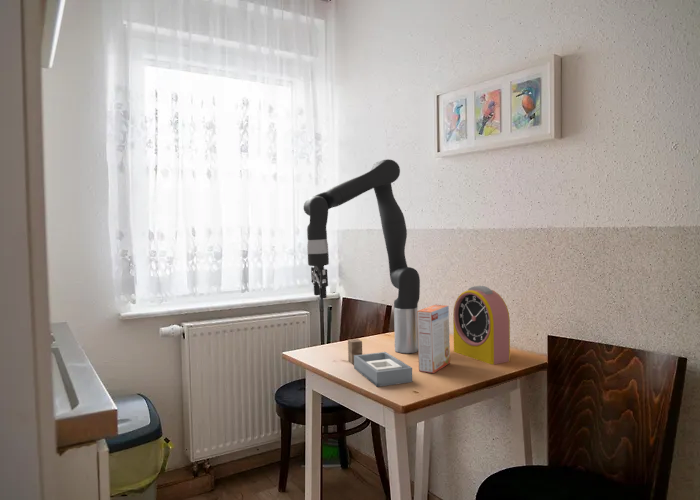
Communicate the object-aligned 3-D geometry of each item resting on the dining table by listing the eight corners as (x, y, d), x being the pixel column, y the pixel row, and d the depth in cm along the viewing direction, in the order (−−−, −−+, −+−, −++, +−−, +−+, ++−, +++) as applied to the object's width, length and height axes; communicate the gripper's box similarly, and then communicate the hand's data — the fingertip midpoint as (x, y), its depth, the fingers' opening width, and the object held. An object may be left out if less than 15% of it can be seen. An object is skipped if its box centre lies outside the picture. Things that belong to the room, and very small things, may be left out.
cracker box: (435, 361, 170) (434, 304, 170) (450, 363, 167) (449, 305, 166) (417, 371, 159) (416, 309, 158) (433, 374, 156) (432, 311, 155)
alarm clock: (452, 351, 183) (452, 284, 182) (470, 348, 188) (470, 282, 186) (492, 364, 165) (491, 289, 164) (511, 360, 169) (510, 287, 168)
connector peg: (358, 360, 174) (358, 338, 174) (362, 363, 170) (362, 341, 170) (348, 361, 173) (348, 339, 172) (352, 364, 169) (351, 342, 169)
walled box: (385, 364, 168) (385, 351, 168) (412, 381, 148) (412, 367, 148) (354, 368, 164) (353, 355, 164) (377, 386, 144) (376, 372, 144)
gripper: (333, 252, 164) (335, 298, 165) (322, 250, 178) (324, 293, 179) (312, 253, 162) (315, 300, 163) (303, 252, 175) (305, 295, 176)
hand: (320, 296), depth 171 cm, fingers open, 8 cm apart
